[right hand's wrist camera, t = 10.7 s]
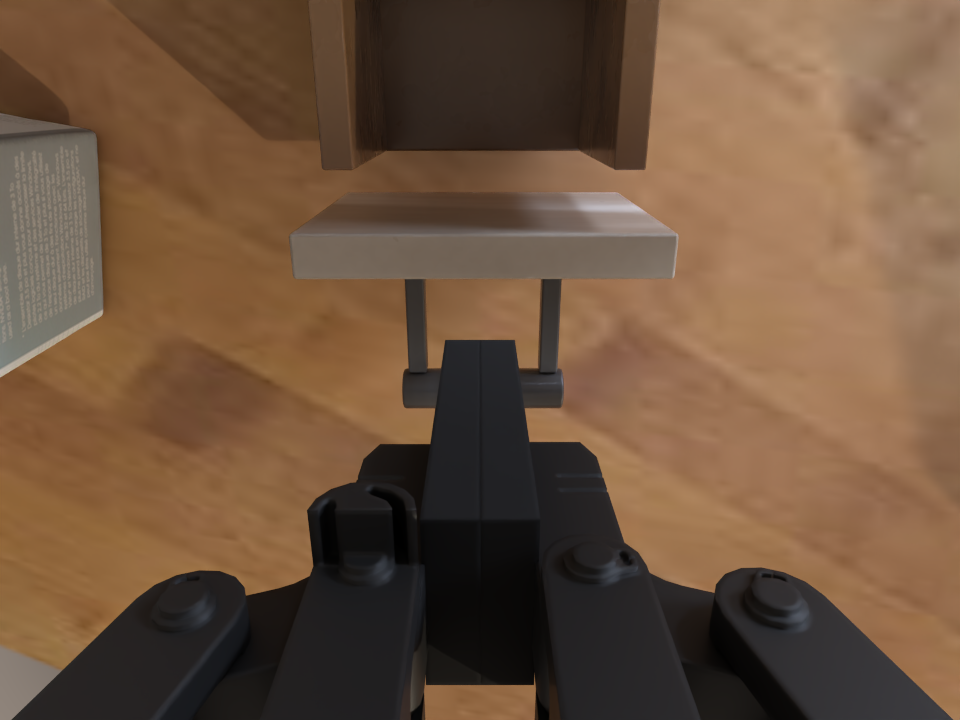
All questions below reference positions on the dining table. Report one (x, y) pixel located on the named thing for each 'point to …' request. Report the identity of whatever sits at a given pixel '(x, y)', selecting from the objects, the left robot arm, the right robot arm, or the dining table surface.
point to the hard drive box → (47, 236)
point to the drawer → (483, 127)
